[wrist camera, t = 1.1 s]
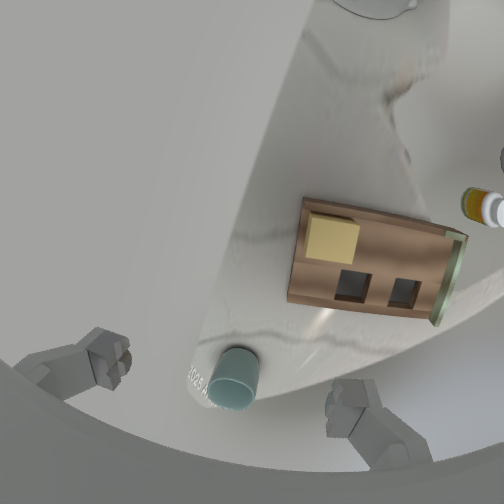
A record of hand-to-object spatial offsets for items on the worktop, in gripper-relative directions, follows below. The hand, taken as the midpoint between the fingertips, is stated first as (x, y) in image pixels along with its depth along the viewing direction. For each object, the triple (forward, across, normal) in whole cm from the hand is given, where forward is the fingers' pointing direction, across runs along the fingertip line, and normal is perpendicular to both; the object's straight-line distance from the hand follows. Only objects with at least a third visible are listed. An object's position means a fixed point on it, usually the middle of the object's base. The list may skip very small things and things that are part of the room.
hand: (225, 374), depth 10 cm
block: (+30, -8, 0) cm, 31 cm away
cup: (+34, +3, +26) cm, 42 cm away
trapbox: (+33, -16, +3) cm, 37 cm away
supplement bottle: (+33, -33, -9) cm, 47 cm away
